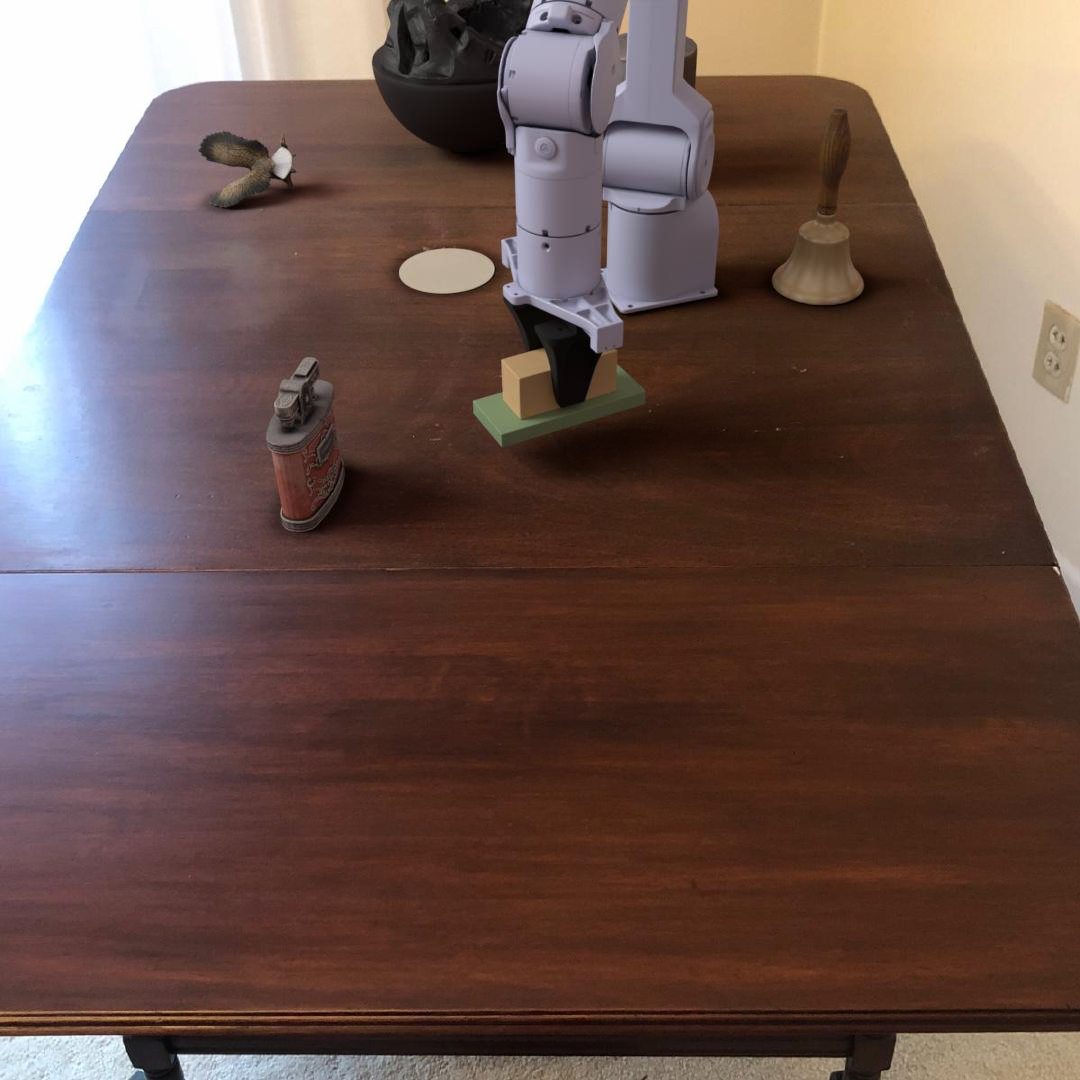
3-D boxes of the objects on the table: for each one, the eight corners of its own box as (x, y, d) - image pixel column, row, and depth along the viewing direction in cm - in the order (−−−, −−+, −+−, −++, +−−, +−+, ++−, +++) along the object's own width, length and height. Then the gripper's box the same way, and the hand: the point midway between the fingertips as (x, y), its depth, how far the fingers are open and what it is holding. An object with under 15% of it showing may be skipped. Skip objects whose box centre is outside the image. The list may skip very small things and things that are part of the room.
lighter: (317, 534, 85) (298, 415, 79) (271, 528, 86) (248, 409, 79) (354, 467, 91) (338, 351, 85) (311, 462, 92) (292, 346, 85)
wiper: (646, 404, 92) (648, 350, 89) (502, 448, 88) (499, 393, 85) (612, 372, 95) (614, 319, 92) (473, 413, 91) (469, 359, 88)
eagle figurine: (276, 158, 133) (193, 159, 129) (290, 115, 127) (203, 114, 123) (294, 218, 131) (210, 220, 127) (308, 176, 125) (221, 178, 121)
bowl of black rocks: (343, 155, 136) (322, -24, 124) (453, 100, 149) (443, -67, 137) (487, 197, 127) (479, 9, 115) (591, 135, 140) (593, -41, 128)
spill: (477, 242, 120) (477, 242, 119) (507, 283, 113) (507, 283, 113) (388, 258, 117) (388, 257, 117) (413, 300, 111) (413, 300, 111)
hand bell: (761, 296, 110) (782, 122, 100) (783, 257, 116) (804, 88, 106) (853, 313, 108) (884, 136, 98) (871, 271, 114) (901, 100, 104)
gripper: (459, 190, 85) (469, 358, 94) (556, 278, 75) (557, 456, 84) (549, 170, 88) (551, 335, 96) (654, 252, 78) (645, 428, 86)
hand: (559, 390), depth 90 cm, fingers closed on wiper, 3 cm apart
